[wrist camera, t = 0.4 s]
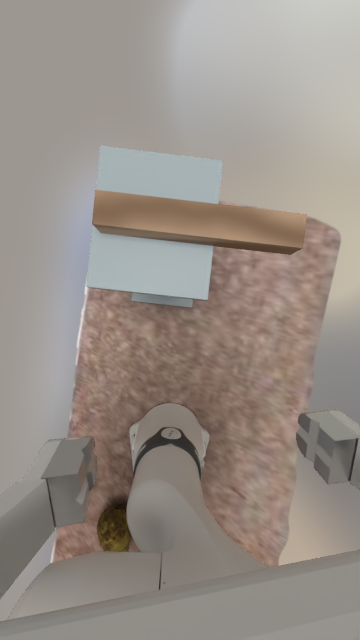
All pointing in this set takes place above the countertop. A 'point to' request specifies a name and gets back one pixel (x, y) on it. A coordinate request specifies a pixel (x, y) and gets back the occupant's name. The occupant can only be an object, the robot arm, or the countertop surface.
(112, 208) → the block
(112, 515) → the potato
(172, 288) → the stand
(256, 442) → the countertop surface
